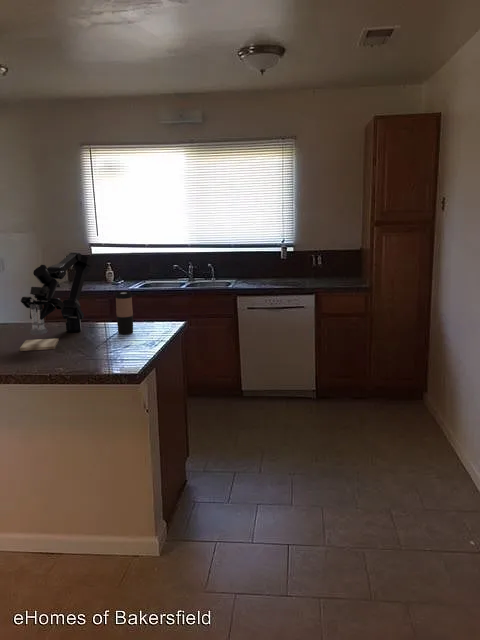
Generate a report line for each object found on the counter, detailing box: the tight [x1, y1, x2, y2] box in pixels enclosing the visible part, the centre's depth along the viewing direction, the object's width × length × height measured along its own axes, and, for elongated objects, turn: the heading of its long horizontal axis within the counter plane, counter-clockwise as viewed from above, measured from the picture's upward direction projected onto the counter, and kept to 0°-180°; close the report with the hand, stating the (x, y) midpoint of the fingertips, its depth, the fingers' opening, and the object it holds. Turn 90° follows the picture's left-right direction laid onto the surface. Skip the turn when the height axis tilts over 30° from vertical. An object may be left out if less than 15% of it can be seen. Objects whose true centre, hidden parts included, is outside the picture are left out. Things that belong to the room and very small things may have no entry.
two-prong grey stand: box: [29, 304, 48, 336], centre depth 231 cm, size 5×5×13 cm
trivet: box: [19, 338, 59, 352], centre depth 234 cm, size 14×14×1 cm
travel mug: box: [115, 290, 134, 336], centre depth 254 cm, size 8×8×20 cm
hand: (35, 319), depth 230 cm, fingers closed on two-prong grey stand, 4 cm apart
